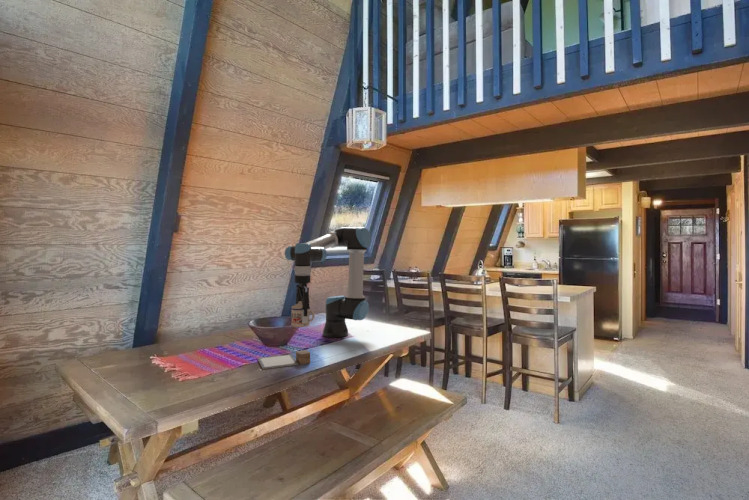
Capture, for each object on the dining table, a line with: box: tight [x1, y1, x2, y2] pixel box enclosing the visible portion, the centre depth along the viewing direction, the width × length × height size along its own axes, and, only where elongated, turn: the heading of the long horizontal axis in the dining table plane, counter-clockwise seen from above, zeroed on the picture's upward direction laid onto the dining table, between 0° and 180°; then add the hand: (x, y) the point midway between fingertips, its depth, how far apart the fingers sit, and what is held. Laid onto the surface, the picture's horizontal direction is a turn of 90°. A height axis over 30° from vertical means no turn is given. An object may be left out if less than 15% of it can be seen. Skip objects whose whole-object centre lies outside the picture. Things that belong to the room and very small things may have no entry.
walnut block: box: [295, 349, 311, 365], centre depth 195 cm, size 5×5×5 cm
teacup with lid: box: [290, 301, 315, 328], centre depth 201 cm, size 12×9×12 cm
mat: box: [257, 353, 299, 370], centre depth 196 cm, size 16×16×1 cm
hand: (302, 320), depth 202 cm, fingers closed on teacup with lid, 9 cm apart
